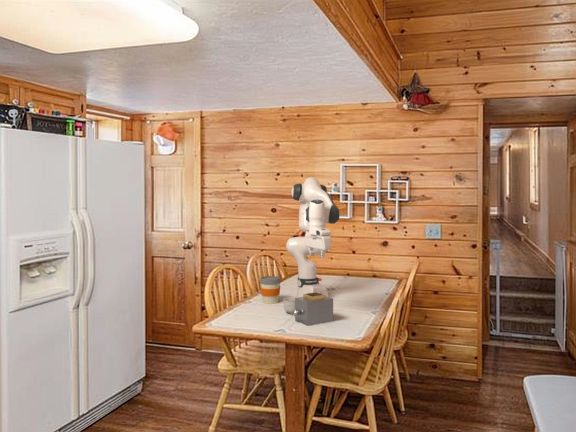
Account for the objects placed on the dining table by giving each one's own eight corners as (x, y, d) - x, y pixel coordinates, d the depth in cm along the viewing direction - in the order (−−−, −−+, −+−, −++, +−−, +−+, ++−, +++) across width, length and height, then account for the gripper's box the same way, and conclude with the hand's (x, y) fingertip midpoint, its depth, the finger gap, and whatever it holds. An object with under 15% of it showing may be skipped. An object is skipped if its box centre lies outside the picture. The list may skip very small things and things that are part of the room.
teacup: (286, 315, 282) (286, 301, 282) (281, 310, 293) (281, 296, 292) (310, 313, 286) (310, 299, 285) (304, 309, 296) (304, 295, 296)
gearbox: (320, 316, 281) (320, 290, 280) (333, 321, 270) (333, 294, 269) (290, 321, 271) (290, 294, 270) (302, 326, 261) (302, 299, 260)
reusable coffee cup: (281, 300, 319) (281, 276, 317) (279, 305, 306) (279, 280, 305) (261, 299, 320) (261, 275, 319) (258, 304, 307) (258, 279, 306)
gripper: (301, 229, 280) (301, 254, 281) (322, 232, 263) (322, 259, 264) (311, 228, 283) (311, 254, 284) (333, 232, 266) (333, 258, 267)
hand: (317, 256), depth 274 cm, fingers open, 8 cm apart
